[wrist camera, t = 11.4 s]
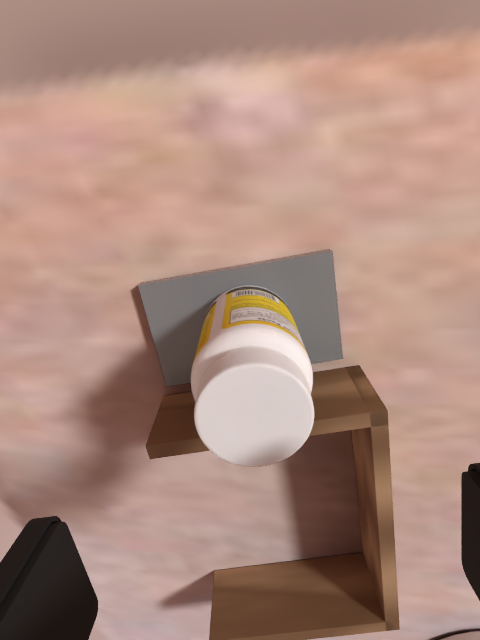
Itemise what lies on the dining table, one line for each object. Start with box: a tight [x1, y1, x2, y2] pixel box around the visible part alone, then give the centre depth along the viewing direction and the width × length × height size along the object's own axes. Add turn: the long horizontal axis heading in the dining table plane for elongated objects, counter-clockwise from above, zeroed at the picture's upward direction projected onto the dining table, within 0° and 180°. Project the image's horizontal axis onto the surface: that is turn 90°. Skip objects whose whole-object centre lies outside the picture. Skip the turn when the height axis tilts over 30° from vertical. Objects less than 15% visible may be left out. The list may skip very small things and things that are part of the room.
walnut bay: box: [146, 365, 399, 640], centre depth 23 cm, size 16×12×4 cm
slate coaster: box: [138, 249, 343, 387], centre depth 20 cm, size 6×10×1 cm, turn 100°
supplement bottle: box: [191, 285, 314, 467], centre depth 16 cm, size 5×5×8 cm
